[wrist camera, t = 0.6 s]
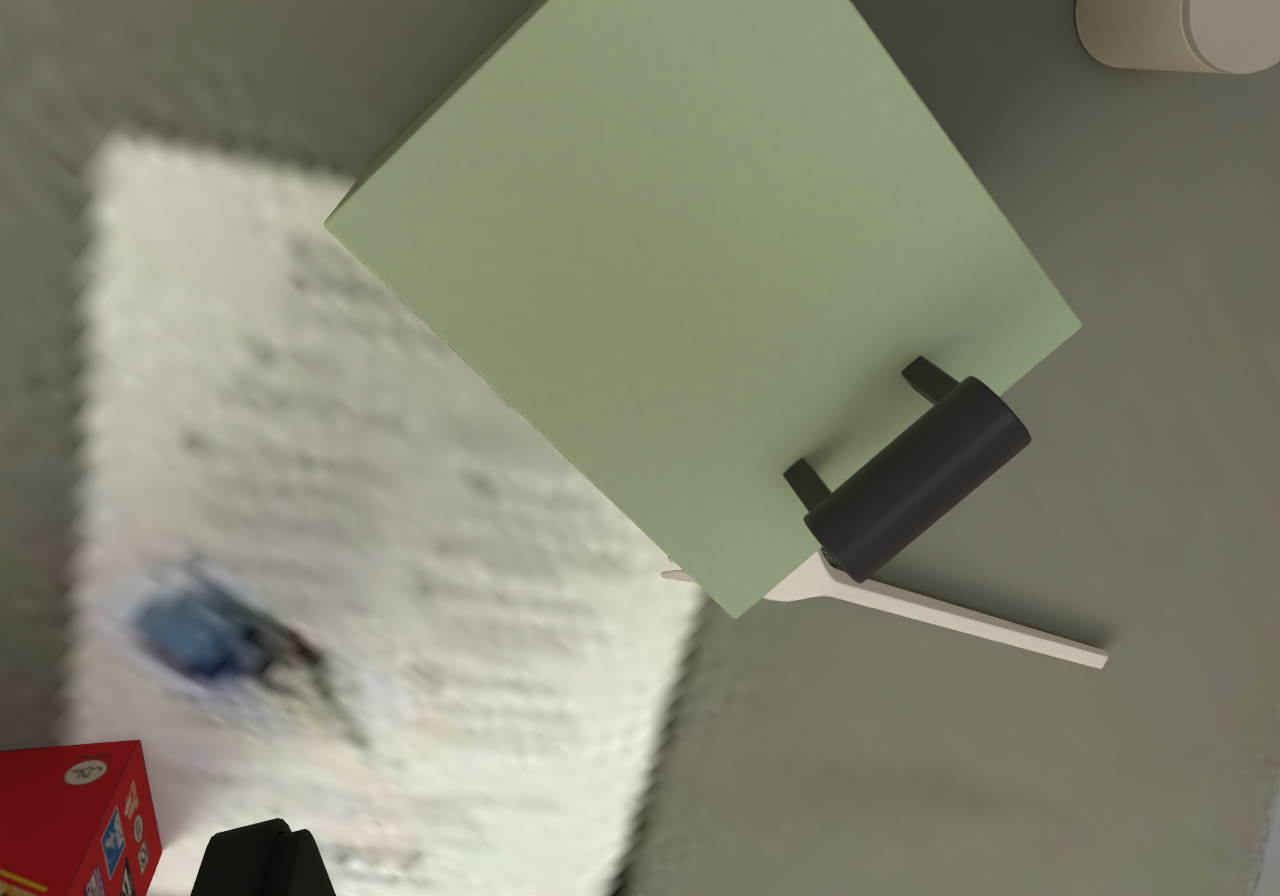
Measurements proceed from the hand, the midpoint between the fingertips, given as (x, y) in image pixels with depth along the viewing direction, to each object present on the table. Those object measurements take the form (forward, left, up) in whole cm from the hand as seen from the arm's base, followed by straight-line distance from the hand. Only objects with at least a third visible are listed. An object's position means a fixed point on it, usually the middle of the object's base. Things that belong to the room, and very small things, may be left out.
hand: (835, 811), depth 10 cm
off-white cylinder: (-19, +7, -27) cm, 34 cm away
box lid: (-3, +1, -18) cm, 18 cm away
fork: (0, +19, -27) cm, 33 cm away
